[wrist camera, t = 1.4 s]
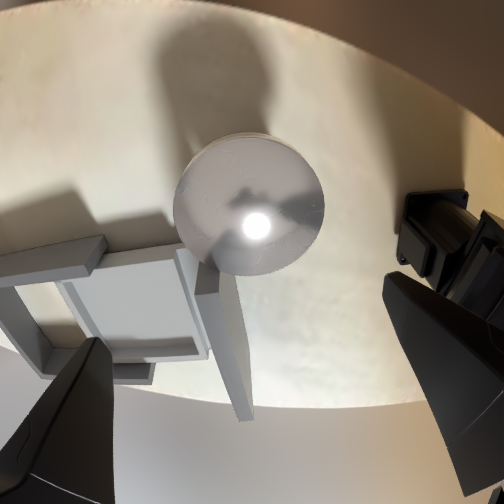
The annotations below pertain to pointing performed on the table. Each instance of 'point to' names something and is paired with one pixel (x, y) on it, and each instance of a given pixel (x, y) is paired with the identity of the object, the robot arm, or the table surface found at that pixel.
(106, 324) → the tray
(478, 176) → the table surface
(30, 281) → the dock
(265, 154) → the disc
